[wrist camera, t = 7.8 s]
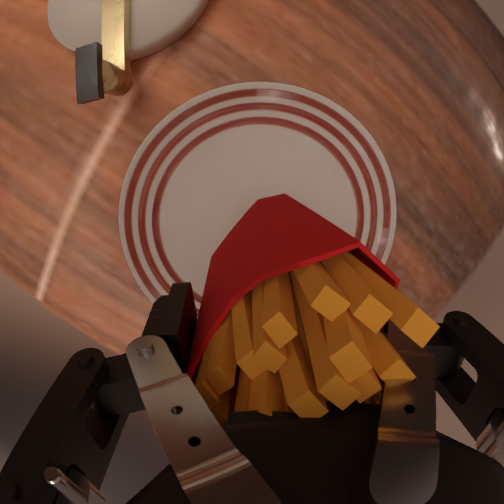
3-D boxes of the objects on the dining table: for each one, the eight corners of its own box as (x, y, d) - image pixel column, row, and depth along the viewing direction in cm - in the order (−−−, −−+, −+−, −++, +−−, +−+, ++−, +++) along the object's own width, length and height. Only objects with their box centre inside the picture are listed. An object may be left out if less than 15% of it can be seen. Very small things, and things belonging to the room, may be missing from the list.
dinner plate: (315, 353, 39) (321, 370, 36) (106, 291, 33) (97, 306, 30) (420, 158, 29) (436, 162, 26) (179, 49, 24) (172, 41, 21)
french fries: (280, 168, 15) (394, 280, 4) (335, 214, 16) (474, 364, 5) (185, 285, 18) (141, 481, 7) (239, 320, 19) (248, 510, 8)
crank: (96, -33, 16) (68, -61, 10) (147, -47, 16) (128, -82, 10) (95, 111, 22) (56, 109, 16) (149, 99, 22) (122, 91, 16)
